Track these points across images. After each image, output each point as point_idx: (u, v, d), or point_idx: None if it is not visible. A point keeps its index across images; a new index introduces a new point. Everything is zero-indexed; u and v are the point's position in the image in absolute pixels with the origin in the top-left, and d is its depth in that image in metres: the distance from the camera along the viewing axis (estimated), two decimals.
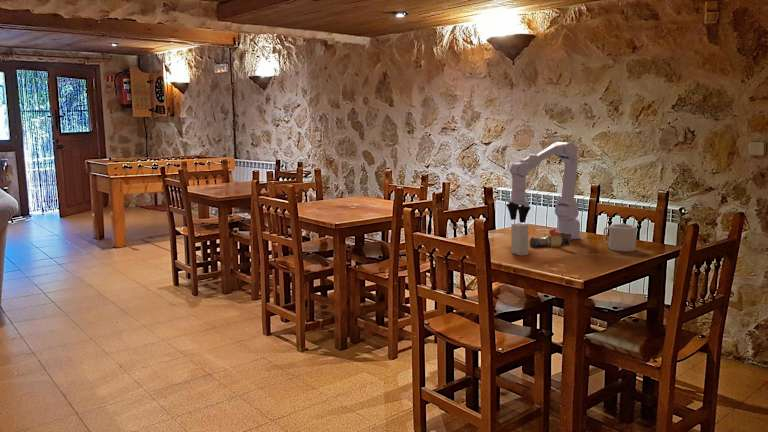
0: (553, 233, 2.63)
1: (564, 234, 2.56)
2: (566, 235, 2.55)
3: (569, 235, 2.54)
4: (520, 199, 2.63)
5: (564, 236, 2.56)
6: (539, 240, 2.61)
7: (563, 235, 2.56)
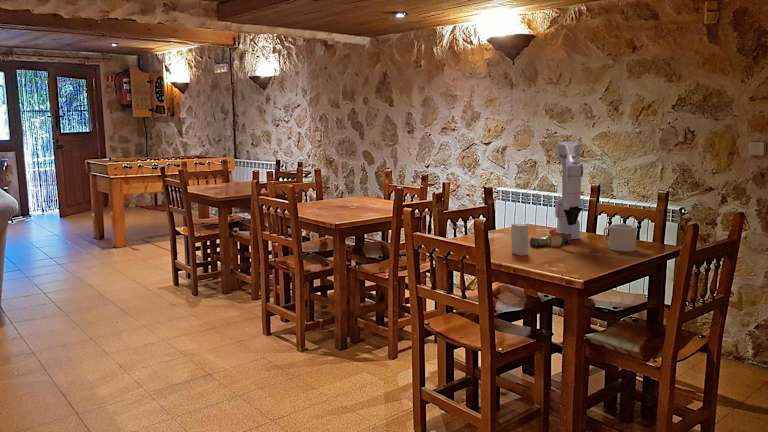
0: (553, 233, 2.63)
1: (564, 234, 2.56)
2: (566, 235, 2.55)
3: (569, 235, 2.54)
4: (568, 202, 2.55)
5: (564, 236, 2.56)
6: (539, 240, 2.61)
7: (563, 235, 2.56)
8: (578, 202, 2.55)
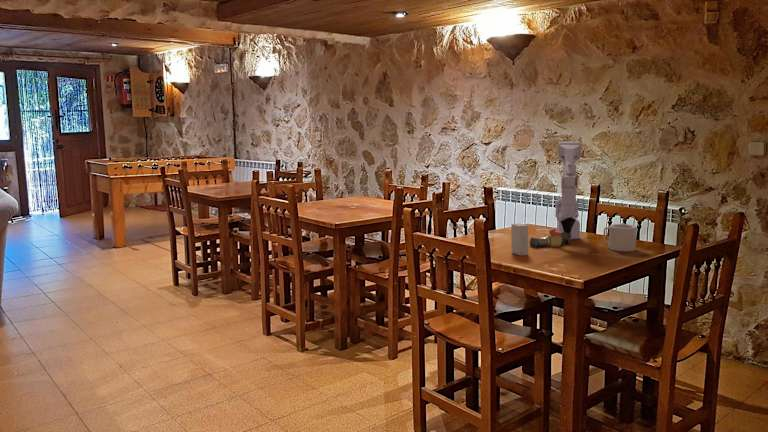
0: (553, 233, 2.63)
1: (564, 234, 2.56)
2: (566, 235, 2.54)
3: (569, 235, 2.54)
4: (563, 213, 2.56)
5: (564, 236, 2.56)
6: (539, 240, 2.61)
7: (563, 235, 2.56)
8: (573, 213, 2.55)
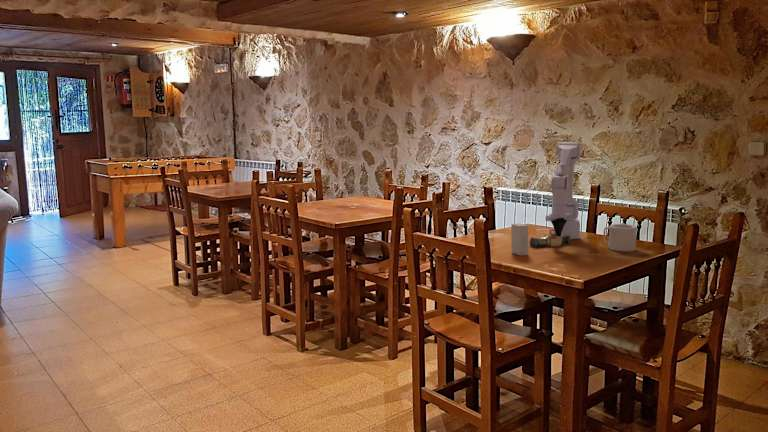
0: (550, 233, 2.63)
1: (551, 234, 2.56)
2: (551, 235, 2.55)
3: (554, 235, 2.54)
4: (553, 213, 2.55)
5: (551, 236, 2.56)
6: (539, 240, 2.61)
7: (551, 235, 2.56)
8: (562, 214, 2.53)
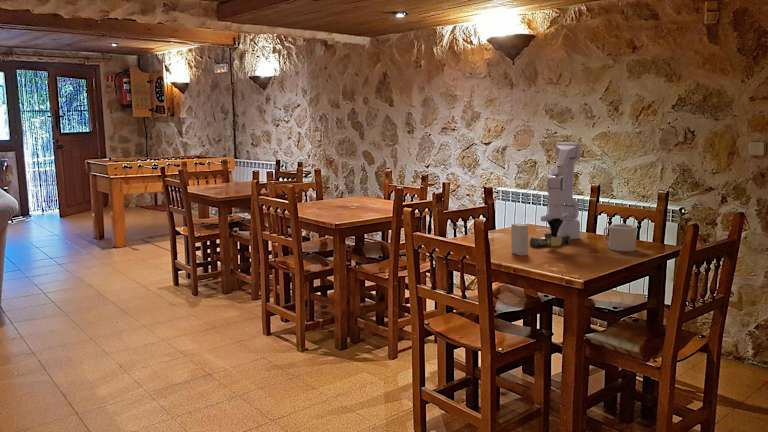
0: None
1: None
2: (545, 235, 2.56)
3: (547, 235, 2.55)
4: (549, 213, 2.55)
5: None
6: (539, 240, 2.61)
7: None
8: (558, 214, 2.53)
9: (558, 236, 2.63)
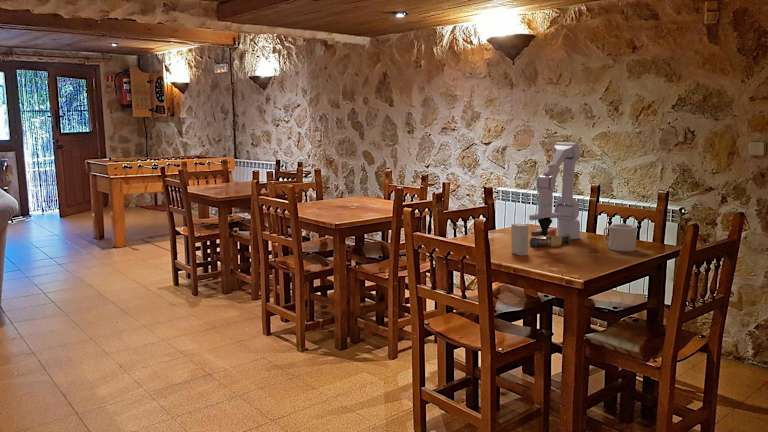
0: None
1: None
2: None
3: (533, 233, 2.59)
4: (538, 213, 2.57)
5: None
6: (539, 240, 2.61)
7: None
8: (547, 213, 2.55)
9: (558, 236, 2.63)
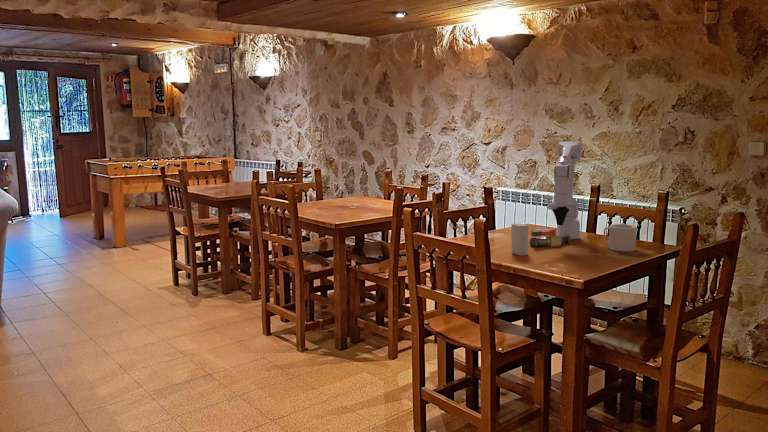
0: None
1: None
2: None
3: (533, 233, 2.59)
4: (555, 202, 2.55)
5: None
6: (539, 240, 2.61)
7: None
8: (565, 202, 2.54)
9: (558, 236, 2.63)
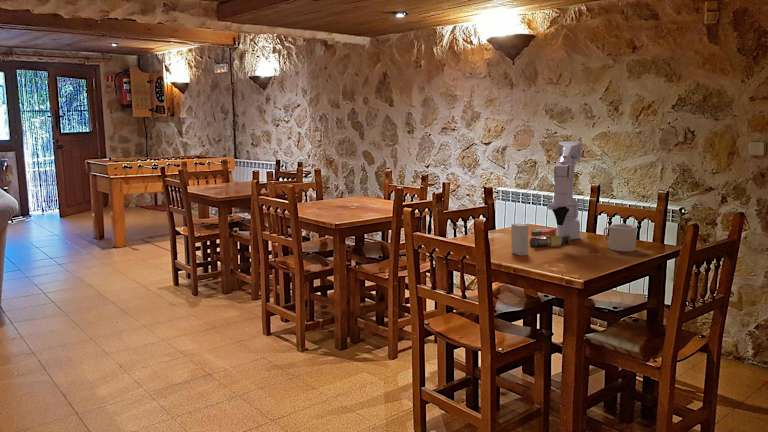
0: None
1: None
2: None
3: (533, 233, 2.59)
4: (555, 202, 2.55)
5: None
6: (539, 240, 2.61)
7: None
8: (565, 202, 2.54)
9: (558, 236, 2.63)
